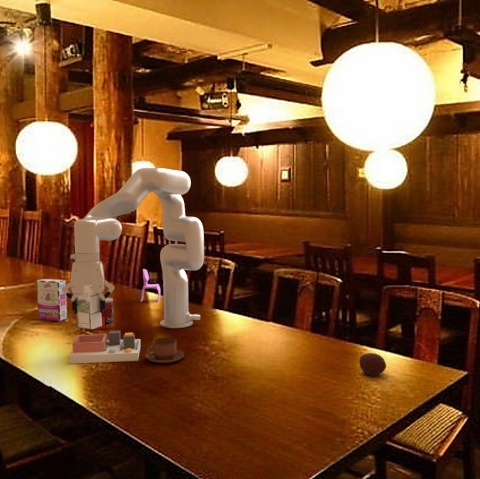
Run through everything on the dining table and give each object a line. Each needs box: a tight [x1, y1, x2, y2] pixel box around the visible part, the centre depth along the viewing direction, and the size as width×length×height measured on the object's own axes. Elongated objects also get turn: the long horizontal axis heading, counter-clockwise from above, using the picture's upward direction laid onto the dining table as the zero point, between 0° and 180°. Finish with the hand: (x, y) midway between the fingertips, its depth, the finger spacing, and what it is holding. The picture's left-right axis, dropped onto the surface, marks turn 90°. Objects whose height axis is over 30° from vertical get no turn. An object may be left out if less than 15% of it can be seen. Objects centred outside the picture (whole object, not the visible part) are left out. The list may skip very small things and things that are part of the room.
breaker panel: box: [68, 333, 141, 364], centre depth 188 cm, size 21×16×6 cm
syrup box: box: [76, 284, 102, 330], centre depth 186 cm, size 6×6×14 cm
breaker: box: [108, 330, 122, 345], centre depth 191 cm, size 3×3×4 cm
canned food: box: [95, 297, 115, 331], centre depth 223 cm, size 8×8×11 cm
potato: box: [358, 352, 387, 376], centre depth 168 cm, size 7×8×6 cm
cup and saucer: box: [145, 337, 185, 364], centre depth 183 cm, size 12×12×6 cm
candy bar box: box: [36, 278, 68, 323], centre depth 236 cm, size 11×5×16 cm, turn 68°
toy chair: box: [139, 268, 161, 303], centre depth 272 cm, size 8×9×15 cm
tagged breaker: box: [122, 332, 136, 349], centre depth 187 cm, size 3×3×5 cm
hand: (89, 312), depth 187 cm, fingers closed on syrup box, 7 cm apart
